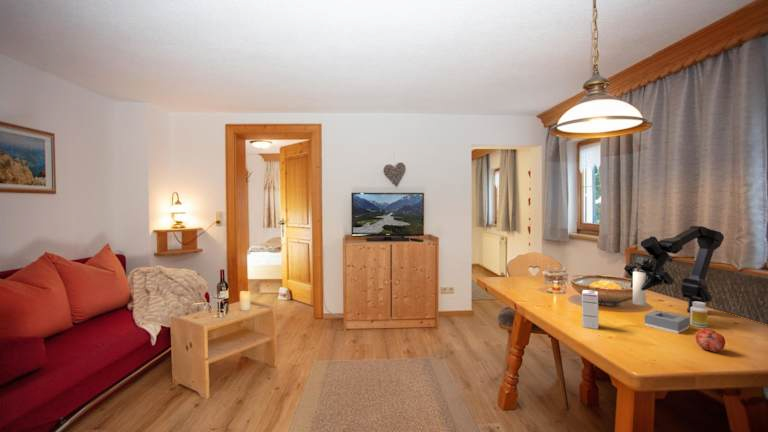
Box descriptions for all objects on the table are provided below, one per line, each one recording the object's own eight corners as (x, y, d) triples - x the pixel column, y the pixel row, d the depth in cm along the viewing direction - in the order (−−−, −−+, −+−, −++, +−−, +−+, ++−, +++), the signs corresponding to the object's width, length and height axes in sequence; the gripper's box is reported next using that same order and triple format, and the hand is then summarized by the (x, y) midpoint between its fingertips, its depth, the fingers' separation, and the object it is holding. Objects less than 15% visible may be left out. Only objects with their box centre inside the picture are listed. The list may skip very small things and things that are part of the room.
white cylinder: (632, 301, 153) (633, 271, 152) (645, 303, 150) (645, 272, 149) (632, 304, 149) (632, 272, 149) (645, 305, 146) (645, 273, 146)
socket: (655, 320, 147) (656, 310, 146) (688, 328, 137) (688, 317, 137) (644, 325, 141) (644, 314, 141) (678, 333, 131) (678, 322, 131)
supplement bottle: (710, 328, 137) (711, 304, 137) (695, 327, 138) (695, 303, 138) (701, 323, 142) (701, 300, 142) (686, 322, 143) (686, 300, 143)
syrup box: (598, 329, 137) (598, 294, 136) (581, 326, 140) (582, 292, 139) (598, 325, 141) (598, 291, 141) (582, 322, 145) (582, 289, 144)
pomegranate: (695, 350, 122) (688, 338, 117) (703, 332, 123) (696, 320, 118) (723, 360, 115) (717, 348, 111) (731, 342, 117) (725, 329, 112)
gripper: (627, 247, 159) (607, 272, 157) (668, 253, 140) (647, 280, 138) (640, 263, 161) (621, 288, 159) (683, 270, 142) (662, 298, 140)
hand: (636, 288), depth 149 cm, fingers closed on white cylinder, 5 cm apart
